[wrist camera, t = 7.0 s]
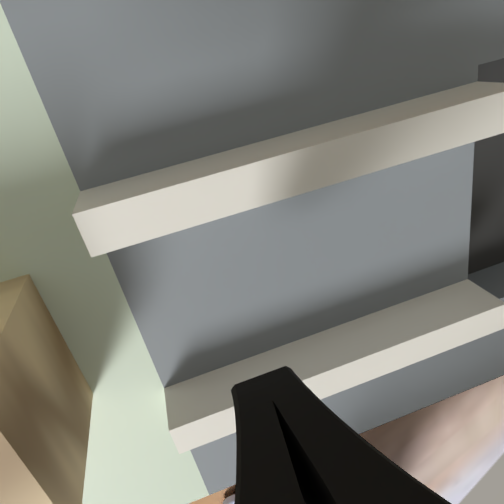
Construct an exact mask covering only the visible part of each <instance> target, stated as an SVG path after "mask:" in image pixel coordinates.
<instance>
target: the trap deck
mask: <svg viewBox="0 0 504 504" xmlns="http://www.w3.org/2000/svg"><path fill="white" fill-rule="evenodd" d="M27 274H29V275H30V277H31V279H32V281H33V282H34V284H35V286H36V288H37V290H38V292H39V294H40V296H41V297H42V299H43V301H44V303H45V305H46V307H47V309H48V310H49V312H50V314H51V316H52V318H53V320H54V322H55V323H56V325H57V327H58V329H59V331H60V333H61V335H62V336H63V338H64V340H65V342H66V344H67V346H68V348H69V349H70V351H71V353H72V355H73V357H74V359H75V361H76V362H77V364H78V366H79V368H80V370H81V372H82V374H83V375H84V377H85V379H86V381H87V383H88V385H89V387H90V388H91V390H92V392H93V400H92V410H91V420H90V430H89V440H88V450H87V460H86V470H85V480H84V489H83V499H82V504H189V503H191V502H193V501H196V500H198V499H201V498H203V497H206V496H208V495H211V494H213V493H216V492H218V491H220V490H223V489H225V488H228V487H230V486H233V485H235V484H236V421H235V410H234V403H233V398H232V394H231V389H232V387H233V386H234V385H235V384H238V383H240V382H243V381H246V380H248V379H251V378H254V377H257V376H259V375H262V374H265V373H267V372H270V371H273V370H276V369H278V368H281V367H284V366H287V367H289V368H291V369H292V370H293V371H294V373H295V374H296V375H297V376H298V377H299V378H300V379H301V381H302V382H303V383H304V384H305V385H306V386H307V387H308V388H309V389H310V390H311V391H312V392H313V393H314V394H315V395H316V396H317V397H318V398H319V399H320V400H321V401H322V402H323V403H324V404H325V405H326V406H327V407H328V408H329V409H331V410H332V411H333V412H334V413H335V414H336V415H337V416H338V417H339V418H340V419H342V420H343V421H344V422H345V423H346V424H347V425H348V426H350V427H351V428H352V429H353V430H354V431H355V432H357V433H358V434H360V433H363V432H365V431H368V430H370V429H373V428H375V427H378V426H380V425H383V424H385V423H387V422H390V421H392V420H395V419H397V418H400V417H402V416H405V415H407V414H410V413H412V412H414V411H417V410H419V409H422V408H424V407H427V406H429V405H432V404H434V403H437V402H439V401H442V400H444V399H446V398H449V397H451V396H454V395H456V394H459V393H461V392H464V391H466V390H469V389H471V388H473V387H476V386H478V385H481V384H483V383H486V382H488V381H491V380H493V379H496V378H498V377H500V376H503V375H504V0H0V282H4V281H7V280H10V279H14V278H17V277H20V276H24V275H27Z"/></svg>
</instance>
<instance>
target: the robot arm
mask: <svg viewBox="0 0 504 504" xmlns="http://www.w3.org/2000/svg"><path fill="white" fill-rule="evenodd" d="M231 394H232V398H233V403H234V410H235V421H236V488H235V494H233V495H231V496H229V497H227V498H226V499H225V500H224V501H223V504H451V503H450V502H448V501H447V500H445V499H444V498H442V497H441V496H439V495H438V494H437V493H435V492H434V491H432V490H431V489H429V488H428V487H426V486H425V485H423V484H422V483H421V482H419V481H418V480H417V479H415V478H414V477H412V476H411V475H410V474H408V473H407V472H406V471H404V470H403V469H402V468H400V467H399V466H398V465H396V464H395V463H394V462H392V461H391V460H390V459H389V458H387V457H386V456H385V455H383V454H382V453H381V452H380V451H378V450H377V449H376V448H375V447H373V446H372V445H371V444H370V443H368V442H367V441H366V440H365V439H364V438H362V437H361V436H360V435H359V434H358V433H357V432H355V431H354V430H353V429H352V428H351V427H350V426H348V425H347V424H346V423H345V422H344V421H343V420H342V419H340V418H339V417H338V416H337V415H336V414H335V413H334V412H333V411H332V410H331V409H329V408H328V407H327V406H326V405H325V404H324V403H323V402H322V401H321V400H320V399H319V398H318V397H317V396H316V395H315V394H314V393H313V392H312V391H311V390H310V389H309V388H308V387H307V386H306V385H305V384H304V383H303V382H302V381H301V379H300V378H299V377H298V376H297V375H296V374H295V373H294V371H293V370H292V369H291V368H289V367H287V366H284V367H281V368H278V369H276V370H273V371H270V372H267V373H265V374H262V375H259V376H257V377H254V378H251V379H248V380H246V381H243V382H240V383H238V384H235V385H234V386H233V387H232V389H231Z"/></svg>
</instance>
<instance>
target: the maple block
mask: <svg viewBox="0 0 504 504" xmlns="http://www.w3.org/2000/svg"><path fill="white" fill-rule="evenodd" d="M92 400H93V392H92V390H91V388H90V387H89V385H88V383H87V381H86V379H85V377H84V375H83V374H82V372H81V370H80V368H79V366H78V364H77V362H76V361H75V359H74V357H73V355H72V353H71V351H70V349H69V348H68V346H67V344H66V342H65V340H64V338H63V336H62V335H61V333H60V331H59V329H58V327H57V325H56V323H55V322H54V320H53V318H52V316H51V314H50V312H49V310H48V309H47V307H46V305H45V303H44V301H43V299H42V297H41V296H40V294H39V292H38V290H37V288H36V286H35V284H34V282H33V281H32V279H31V277H30V275H29V274H27V275H24V276H20V277H17V278H14V279H10V280H7V281H4V282H0V504H82V499H83V489H84V480H85V470H86V460H87V450H88V440H89V430H90V420H91V410H92Z"/></svg>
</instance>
